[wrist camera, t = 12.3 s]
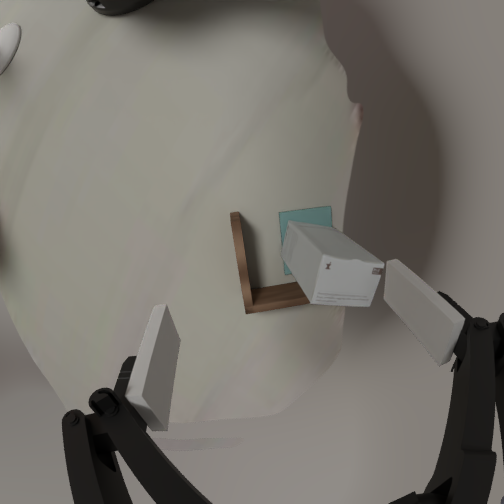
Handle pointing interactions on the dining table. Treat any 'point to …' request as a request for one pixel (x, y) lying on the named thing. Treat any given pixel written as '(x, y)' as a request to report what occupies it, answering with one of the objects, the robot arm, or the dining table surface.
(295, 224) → the skincare box
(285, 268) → the pad
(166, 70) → the dining table surface
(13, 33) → the candlestick
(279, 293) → the wooden corner bracket
